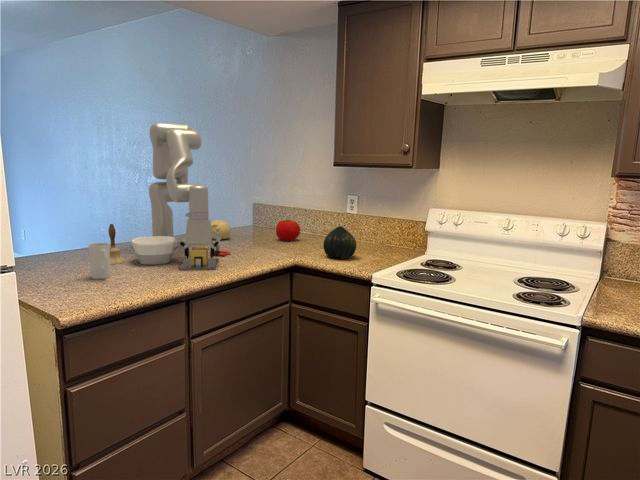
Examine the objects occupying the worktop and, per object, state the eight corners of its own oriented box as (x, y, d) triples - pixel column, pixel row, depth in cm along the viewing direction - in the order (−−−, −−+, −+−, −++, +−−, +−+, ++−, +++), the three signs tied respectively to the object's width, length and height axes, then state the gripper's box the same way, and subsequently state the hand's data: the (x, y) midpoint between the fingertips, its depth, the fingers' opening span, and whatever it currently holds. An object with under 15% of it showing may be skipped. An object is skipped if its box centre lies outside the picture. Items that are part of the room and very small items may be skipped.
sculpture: (209, 237, 250) (209, 218, 248) (231, 237, 251) (231, 218, 249) (206, 241, 238) (206, 220, 237) (229, 241, 240) (229, 221, 238)
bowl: (131, 258, 193) (130, 237, 191) (175, 256, 200) (174, 235, 198) (132, 267, 177) (131, 244, 175) (179, 264, 184) (178, 242, 182)
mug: (87, 276, 162) (85, 244, 160) (107, 273, 167) (105, 242, 165) (97, 282, 155) (95, 248, 153) (117, 279, 160) (115, 246, 158)
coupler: (178, 270, 175) (178, 257, 174) (185, 260, 192) (185, 248, 191) (215, 270, 177) (215, 257, 176) (218, 259, 195) (218, 248, 194)
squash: (338, 250, 194) (352, 223, 199) (312, 247, 204) (327, 220, 209) (353, 268, 203) (366, 241, 208) (328, 264, 213) (341, 238, 219)
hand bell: (101, 265, 180) (98, 225, 177) (105, 260, 188) (102, 222, 185) (123, 264, 182) (121, 225, 180) (126, 259, 190) (124, 222, 187)
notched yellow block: (190, 265, 180) (190, 250, 179) (193, 260, 188) (193, 246, 187) (206, 265, 181) (206, 250, 180) (208, 260, 189) (207, 246, 188)
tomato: (278, 238, 253) (278, 217, 251) (301, 239, 252) (302, 218, 250) (273, 241, 241) (273, 220, 239) (297, 243, 240) (298, 221, 238)
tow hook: (215, 252, 211) (207, 255, 202) (215, 225, 210) (208, 227, 201) (232, 254, 210) (225, 257, 201) (233, 226, 209) (226, 228, 200)
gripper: (175, 217, 176) (176, 259, 179) (220, 217, 179) (220, 259, 182) (178, 214, 184) (179, 255, 186) (221, 215, 186) (221, 255, 189)
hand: (199, 257), depth 184 cm, fingers open, 9 cm apart
